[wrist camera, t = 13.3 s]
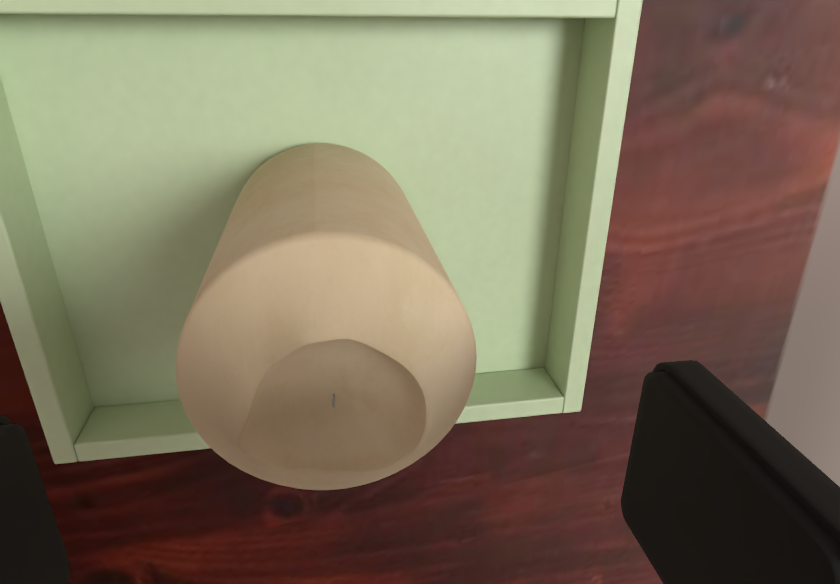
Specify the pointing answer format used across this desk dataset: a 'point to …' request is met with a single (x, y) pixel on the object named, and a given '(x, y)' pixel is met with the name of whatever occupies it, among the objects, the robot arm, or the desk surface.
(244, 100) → the tray
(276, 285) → the candle
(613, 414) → the desk surface
